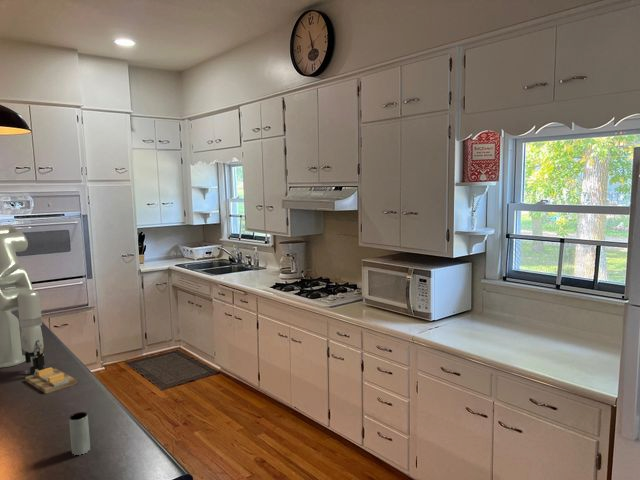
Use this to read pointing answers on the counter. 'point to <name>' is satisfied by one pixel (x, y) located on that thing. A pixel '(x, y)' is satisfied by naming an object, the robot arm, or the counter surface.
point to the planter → (79, 433)
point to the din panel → (46, 386)
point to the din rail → (54, 383)
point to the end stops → (51, 378)
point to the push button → (33, 368)
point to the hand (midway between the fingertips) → (35, 364)
